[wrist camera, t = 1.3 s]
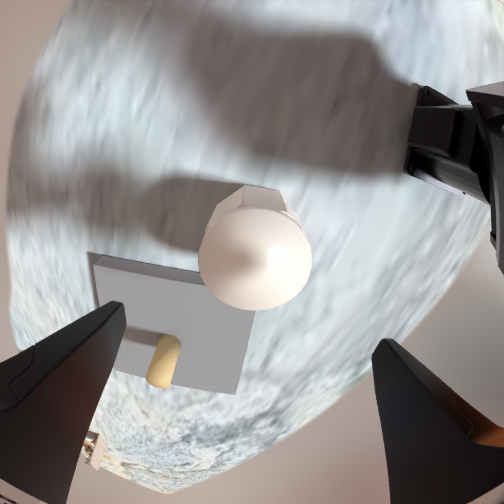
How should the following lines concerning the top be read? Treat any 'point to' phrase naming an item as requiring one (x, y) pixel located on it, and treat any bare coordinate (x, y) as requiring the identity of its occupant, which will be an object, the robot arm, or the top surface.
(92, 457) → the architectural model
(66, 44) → the top surface
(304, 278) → the cap
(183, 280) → the post base
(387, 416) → the robot arm
